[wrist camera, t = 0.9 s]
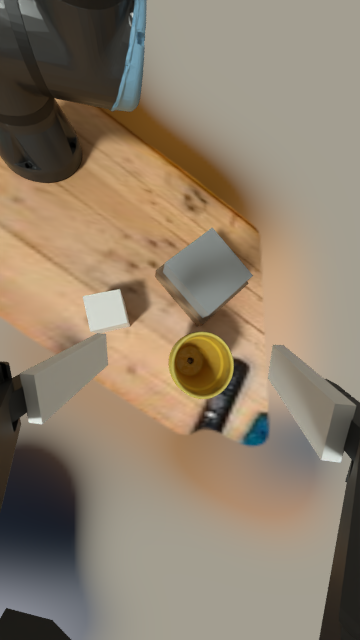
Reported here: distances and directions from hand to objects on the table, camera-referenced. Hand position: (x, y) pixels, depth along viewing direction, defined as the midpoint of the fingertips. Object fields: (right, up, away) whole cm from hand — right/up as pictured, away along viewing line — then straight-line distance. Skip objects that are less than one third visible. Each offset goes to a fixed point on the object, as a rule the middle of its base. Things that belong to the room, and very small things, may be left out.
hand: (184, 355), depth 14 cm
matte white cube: (-14, +4, +22) cm, 26 cm away
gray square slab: (+5, +11, +23) cm, 26 cm away
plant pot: (+1, -6, +24) cm, 24 cm away
